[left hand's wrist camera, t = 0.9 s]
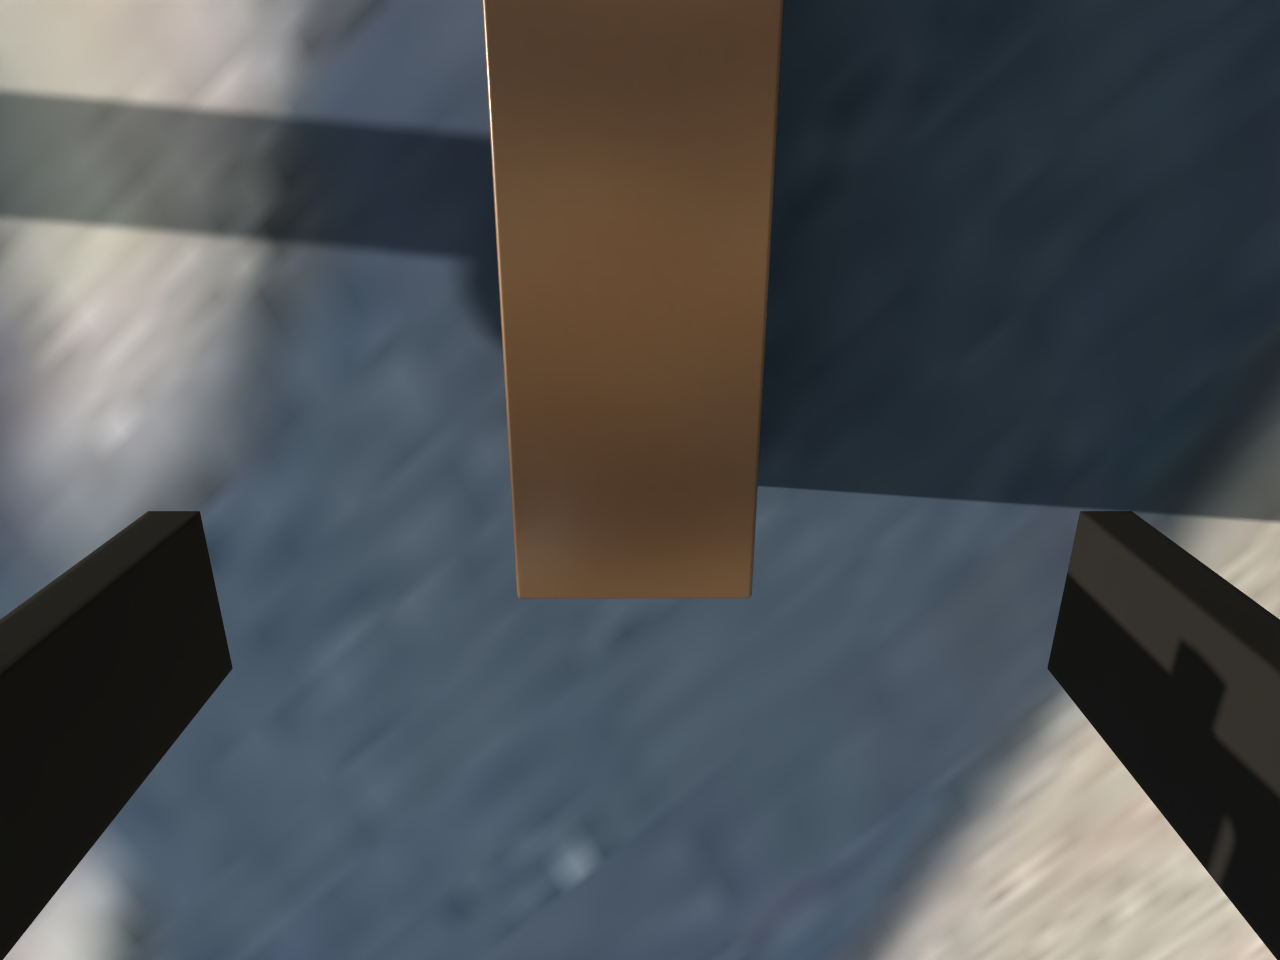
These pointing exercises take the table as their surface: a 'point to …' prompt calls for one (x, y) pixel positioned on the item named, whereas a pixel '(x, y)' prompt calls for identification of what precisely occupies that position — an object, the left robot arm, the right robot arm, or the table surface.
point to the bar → (633, 286)
